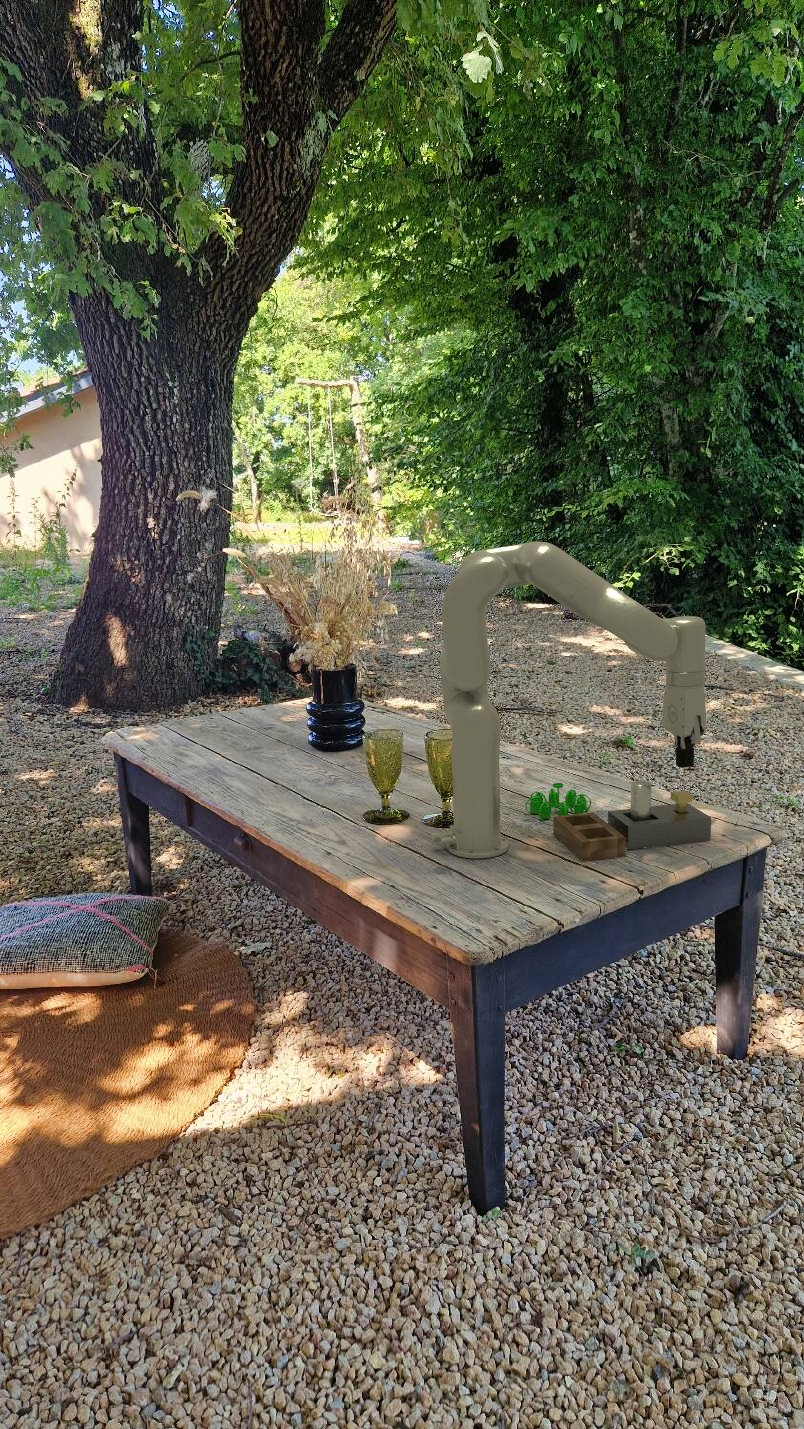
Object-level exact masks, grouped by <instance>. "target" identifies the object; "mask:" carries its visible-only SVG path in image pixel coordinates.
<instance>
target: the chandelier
mask: <svg viewBox="0 0 804 1429" xmlns="http://www.w3.org/2000/svg"><path fill="white" fill-rule="evenodd" d="M552 787H553V788H551V789H550V791H549V792H548V801H547V798H546V797H547V796H546V795H545V794H544V793H543V792H541V791H534V792H533V793H531V794H530V797H529V798H528V799H527V800H526V802H525V810H526V812H527V813H528V814H529V815H532V814H534V815H535V814H537V815H538V817H539V819H540V820H541V821H545V819H546V820H547V819H550V817H551V814H552V809H554V808H559V809H558V816H562V815H570V813H569V812H571V815H572V814H581V813H589V810H590V808H591V806H592V799H591V798H590V797H589V796H588V795H587V794H584V793H581V794H577V791H576V790H574V789H571V788H570V789H569V790H567V792H566V795H565V798H564V801H562V802H560V789H561V788H563V787H564V784H563V783H561V782H554V783H553V784H552ZM586 797H587V798H588V800H589V805H587V802H588V801H587V800H586ZM529 802H530V803H529ZM528 803H529V808H530V809H529V811H528V808H527V807H528V806H527V805H528ZM584 810H585V811H584Z"/></svg>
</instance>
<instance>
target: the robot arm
mask: <svg viewBox="0 0 804 1429" xmlns="http://www.w3.org/2000/svg"><path fill="white" fill-rule="evenodd" d="M527 585H533V586H534V587H535V588H537V589H539V590H540V591H542V592H543V593H545V594H546V595H548V596H549V597H550V598H552V599H553V600H555V601H556V602H557V603H559V604H561V605H562V606H563V607H564V608H566V609H567V610H569V611H571V612H572V613H573V614H575V615H576V616H578V617H579V618H581V619H583V620H585V621H587V622H588V623H590V624H592V625H595V626H597V627H598V628H599V627H600V628H601V629H603V630H606V631H607V632H608V633H610V634H612V635H614V636H615V637H617V638H618V639H620V640H621V641H623V642H624V644H625V645H626V647H627V648H628V649H629V651H631V652H633V653H635V654H637V655H639V656H641V657H643V658H647V660H650V661H655V662H661V661H665V687H664V693H663V701H662V702H663V704H662V727H663V729H664V730H666V731H667V732H670V734H671V735H672V736H673V737H674V738H673V739H674V746H675V765H676V766H677V767H678V768H680V769H681V768H690V767H691V768H692V767H694V766H695V748H696V745H697V744H701V743H702V739H701V738H702V736H703V735H705V734H706V728H707V708H706V696H705V687H706V630H707V629H706V623H705V620H704V619H703V618H702V617H699V616H693V615H692V616H691V615H690V616H689V615H687V616H686V615H685V616H684V615H683V616H675V617H671V618H664V617H663V618H662V617H660V616H658V615H657V614H656V613H654V612H653V611H652V610H649V609H648V608H647V607H645V606H644V605H642V604H640V603H639V602H637V600H634V599H633V598H631V597H630V596H628V595H627V594H626V593H624V592H623V591H621V589H618V587H616V586H614V585H613V584H612V583H610V582H608V581H607V580H606V579H604V578H602V577H601V576H599V575H598V574H596V573H595V572H594V571H593V570H590V569H589V568H588V567H587V566H585V565H584V564H583V563H581V562H579V561H578V560H577V559H575V558H574V557H572V556H571V555H569V554H568V553H567V552H565V551H564V550H562V549H561V548H560V547H558V546H556V545H554V544H552V543H551V542H550V543H549V542H546V541H545V542H544V541H530V542H525V543H519V544H514V545H513V544H512V545H509V546H501V547H495V548H488V549H482V550H477V551H473V552H470V553H469V554H468V555H466V556H465V557H464V558H463V559H462V561H461V563H460V565H459V568H458V572H457V573H456V574H455V575H454V577H453V579H452V580H451V581H450V583H449V584H448V586H447V589H446V591H445V594H444V597H443V599H442V606H441V607H442V608H441V619H442V620H441V621H442V623H441V624H442V634H443V635H442V636H443V645H444V648H443V649H442V652H441V653H440V657H439V673H440V674H439V676H440V683H441V690H442V698H443V706H444V714H445V717H446V718H445V719H446V720H447V722H448V725H449V727H450V730H451V738H452V739H451V740H452V741H451V775H452V800H453V801H452V802H453V803H452V804H453V805H452V807H453V824H450V826H449V827H450V829H445V830H446V831H437V832H436V831H434V832H431V834H430V836H431V842H432V843H436V842H439V843H440V845H446V848H447V851H448V852H449V853H450V854H452V855H454V856H457V857H460V858H465V859H489V858H495V857H498V856H500V855H503V854H504V853H506V852H507V851H508V849H509V847H510V846H509V841H508V839H506V837H504V836H502V835H501V834H502V832H501V830H502V829H501V789H500V788H501V786H500V785H501V781H500V778H501V777H500V775H501V774H500V748H501V747H500V744H501V735H502V734H501V733H502V730H501V729H502V726H501V725H502V724H501V718H500V716H499V713H498V711H497V709H496V708H495V705H493V704H492V703H491V701H490V699H489V690H488V689H489V688H488V682H489V680H490V677H491V674H492V662H491V657H490V651H489V650H490V649H489V642H488V634H487V632H488V631H487V609H488V607H489V604H490V602H491V601H492V599H493V598H494V597H495V596H496V595H498V594H499V593H501V592H502V591H503V590H506V589H511V588H515V587H516V588H517V587H522V586H527Z"/></svg>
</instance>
